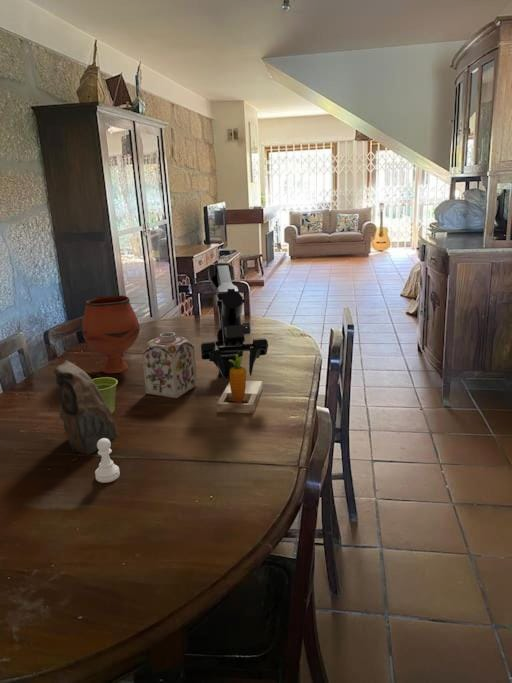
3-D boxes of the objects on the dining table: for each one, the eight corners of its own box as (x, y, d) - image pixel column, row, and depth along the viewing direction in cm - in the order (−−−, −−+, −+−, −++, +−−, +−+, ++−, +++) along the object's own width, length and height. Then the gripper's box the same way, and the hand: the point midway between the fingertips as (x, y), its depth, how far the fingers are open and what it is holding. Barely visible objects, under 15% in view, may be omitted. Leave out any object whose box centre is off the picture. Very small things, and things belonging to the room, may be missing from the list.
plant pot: (127, 407, 144) (124, 378, 142) (108, 421, 136) (104, 391, 133) (99, 403, 147) (96, 376, 145) (79, 417, 139) (74, 387, 136)
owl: (87, 458, 117) (76, 377, 111) (45, 449, 121) (32, 371, 116) (121, 434, 128) (112, 359, 122) (81, 427, 133) (70, 355, 127)
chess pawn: (101, 470, 112) (96, 433, 109) (123, 470, 111) (118, 433, 108) (91, 482, 107) (86, 444, 104) (114, 483, 106) (110, 444, 104)
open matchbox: (217, 411, 139) (216, 403, 139) (230, 387, 156) (230, 380, 156) (253, 413, 138) (252, 404, 137) (262, 388, 155) (262, 381, 154)
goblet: (132, 357, 189) (125, 291, 182) (151, 370, 174) (145, 299, 167) (80, 367, 179) (71, 298, 172) (96, 383, 164) (86, 308, 157)
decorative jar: (198, 385, 159) (194, 330, 154) (177, 399, 149) (173, 340, 144) (166, 381, 164) (161, 327, 159) (144, 393, 154) (138, 337, 149)
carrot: (243, 410, 140) (242, 358, 136) (226, 407, 142) (225, 356, 138) (249, 403, 144) (249, 353, 140) (234, 401, 146) (232, 351, 142)
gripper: (199, 314, 138) (203, 365, 131) (266, 310, 140) (274, 360, 133) (199, 334, 148) (203, 383, 140) (262, 330, 150) (269, 378, 143)
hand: (237, 376), depth 139 cm, fingers open, 7 cm apart
